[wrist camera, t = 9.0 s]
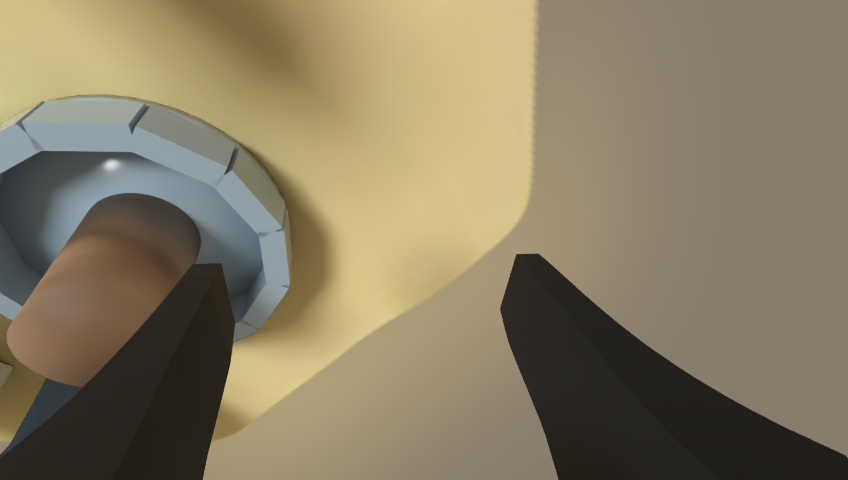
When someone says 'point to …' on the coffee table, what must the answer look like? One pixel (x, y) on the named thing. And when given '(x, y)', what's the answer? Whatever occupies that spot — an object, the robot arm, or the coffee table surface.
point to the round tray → (145, 174)
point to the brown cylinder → (103, 286)
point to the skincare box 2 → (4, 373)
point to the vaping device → (43, 408)
